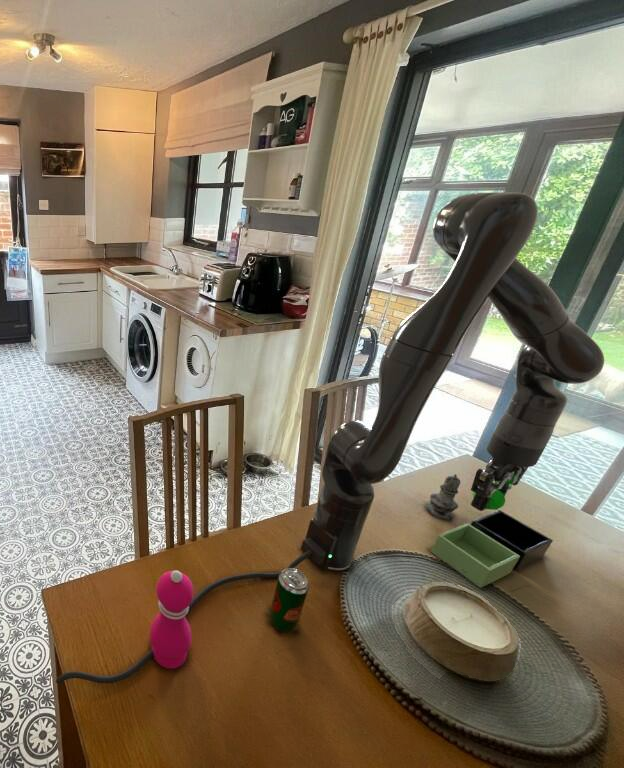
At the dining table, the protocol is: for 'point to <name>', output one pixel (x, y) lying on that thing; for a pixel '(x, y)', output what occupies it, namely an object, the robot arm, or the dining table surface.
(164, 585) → the pepper mill
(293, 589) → the soda can
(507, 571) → the green bin
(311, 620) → the dining table surface
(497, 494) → the polyhedron
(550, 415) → the robot arm
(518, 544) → the charcoal bin
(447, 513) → the grey figurine
